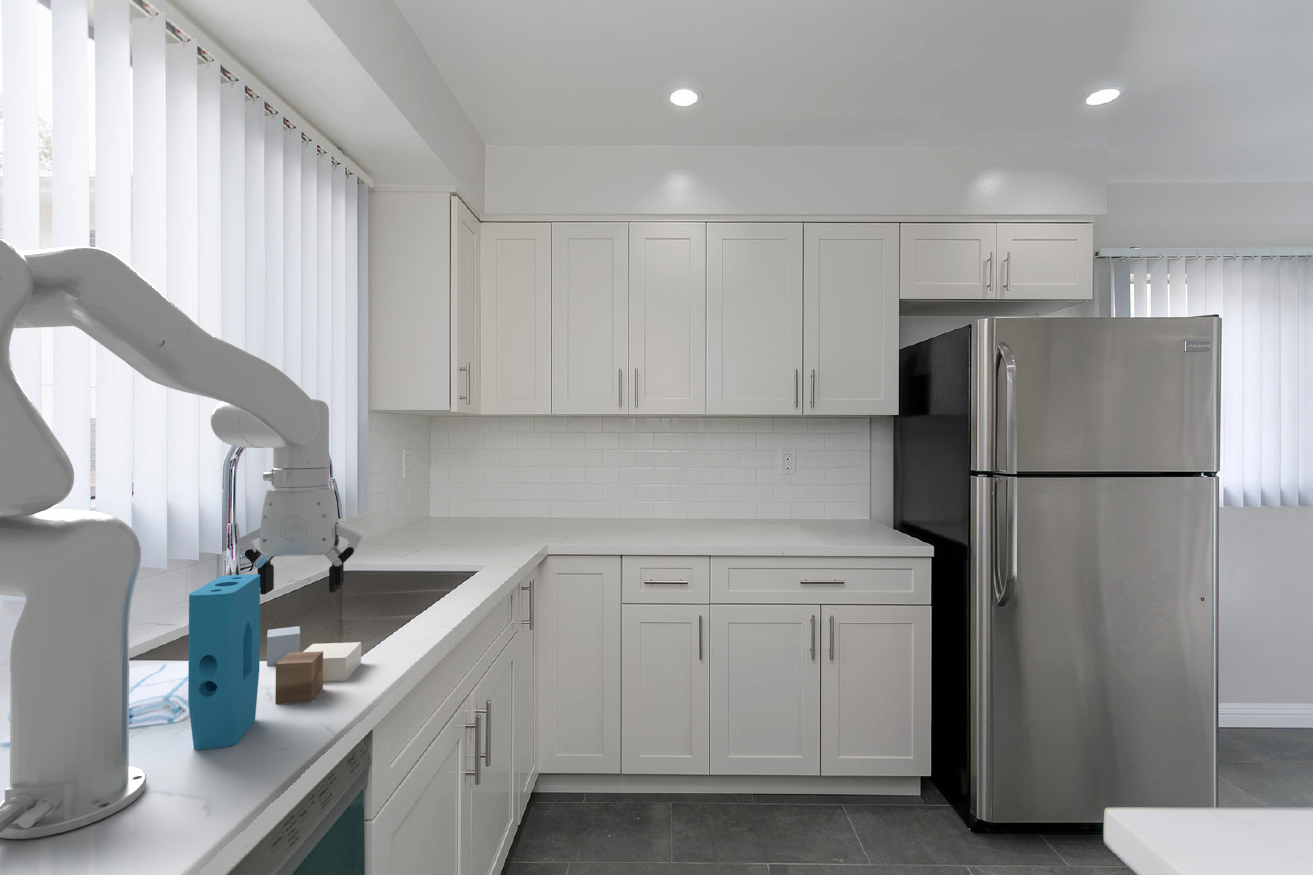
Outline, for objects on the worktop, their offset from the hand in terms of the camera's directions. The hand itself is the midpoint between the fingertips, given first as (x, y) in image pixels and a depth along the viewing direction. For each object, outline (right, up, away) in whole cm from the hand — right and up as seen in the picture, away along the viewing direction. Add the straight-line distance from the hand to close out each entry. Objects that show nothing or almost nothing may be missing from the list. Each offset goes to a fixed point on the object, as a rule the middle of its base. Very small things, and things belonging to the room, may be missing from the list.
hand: (301, 591), depth 100 cm
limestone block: (-1, -16, +10) cm, 19 cm away
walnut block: (0, -16, 0) cm, 16 cm away
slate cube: (-12, -16, +16) cm, 26 cm away
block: (-3, -16, -13) cm, 21 cm away
